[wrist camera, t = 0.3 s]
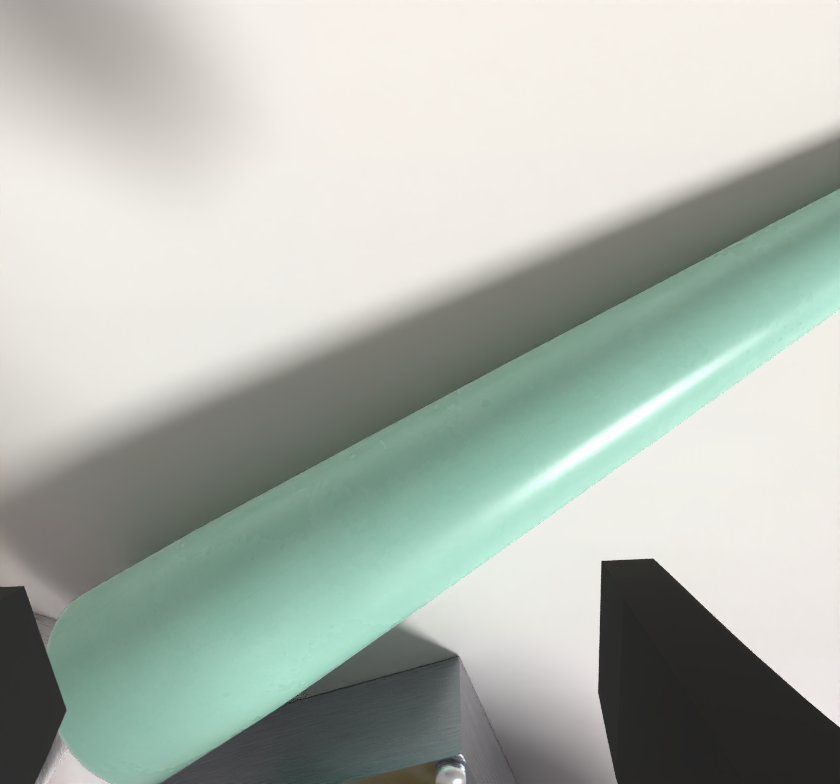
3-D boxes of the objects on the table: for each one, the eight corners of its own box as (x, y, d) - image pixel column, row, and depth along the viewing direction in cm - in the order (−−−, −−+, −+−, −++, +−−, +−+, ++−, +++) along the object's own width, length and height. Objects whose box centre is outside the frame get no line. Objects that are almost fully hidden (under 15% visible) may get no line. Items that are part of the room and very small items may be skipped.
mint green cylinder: (1420, 223, 11) (158, 835, 17) (1105, 191, 16) (224, 670, 22) (1366, -116, 9) (-2, 692, 15) (1037, -30, 14) (109, 550, 20)
